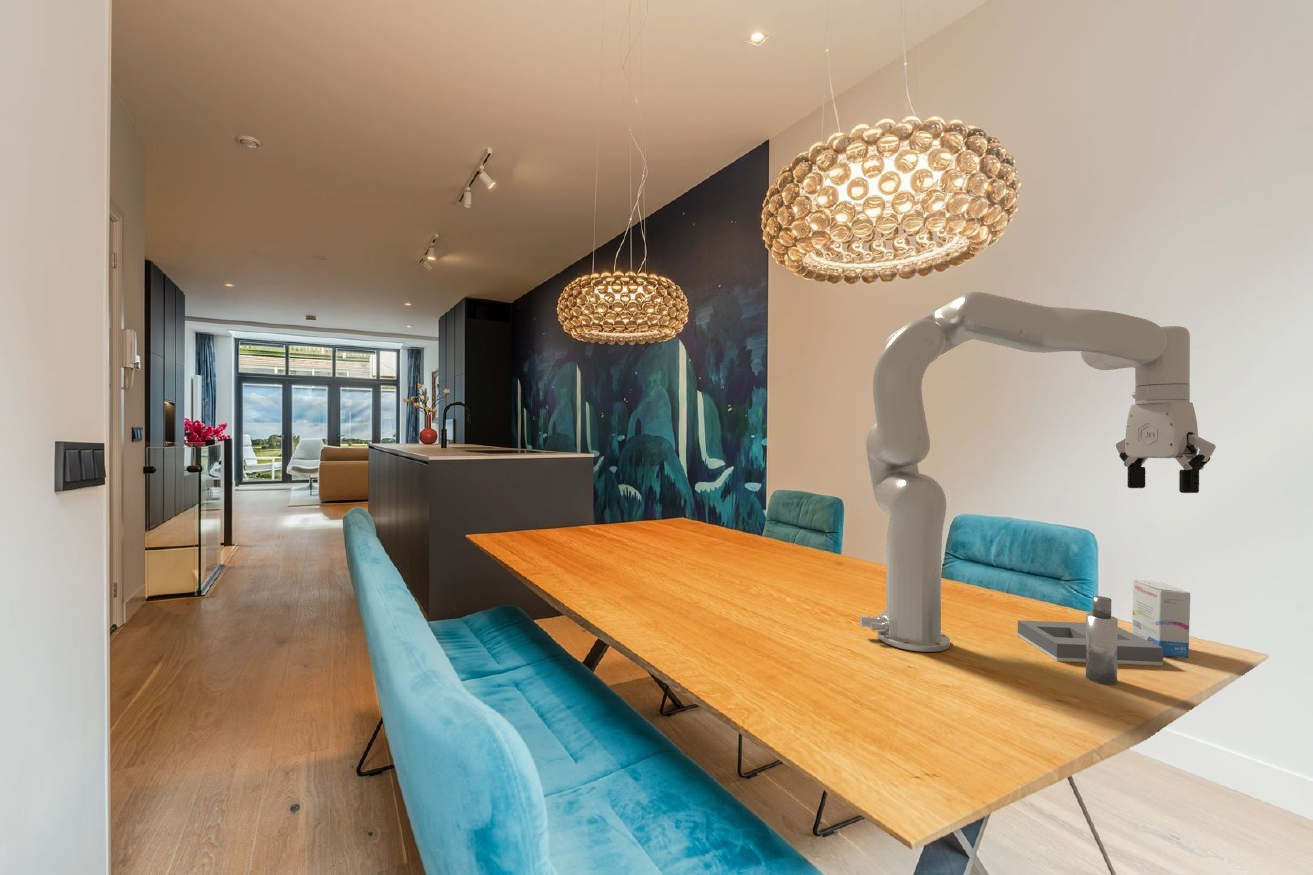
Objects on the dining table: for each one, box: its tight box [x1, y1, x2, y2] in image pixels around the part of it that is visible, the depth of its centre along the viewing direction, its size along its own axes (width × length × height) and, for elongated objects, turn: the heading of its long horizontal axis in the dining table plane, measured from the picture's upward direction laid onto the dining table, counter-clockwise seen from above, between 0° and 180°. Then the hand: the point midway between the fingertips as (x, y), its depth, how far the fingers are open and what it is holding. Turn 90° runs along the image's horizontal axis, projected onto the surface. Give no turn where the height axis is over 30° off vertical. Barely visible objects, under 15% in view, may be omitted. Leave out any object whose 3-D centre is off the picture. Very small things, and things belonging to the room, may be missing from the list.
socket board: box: [1017, 620, 1164, 666], centre depth 107 cm, size 17×13×3 cm
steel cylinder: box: [1085, 595, 1119, 686], centre depth 94 cm, size 4×4×13 cm
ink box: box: [1131, 579, 1191, 659], centre depth 108 cm, size 9×5×12 cm, turn 168°
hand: (1161, 490), depth 107 cm, fingers open, 9 cm apart
